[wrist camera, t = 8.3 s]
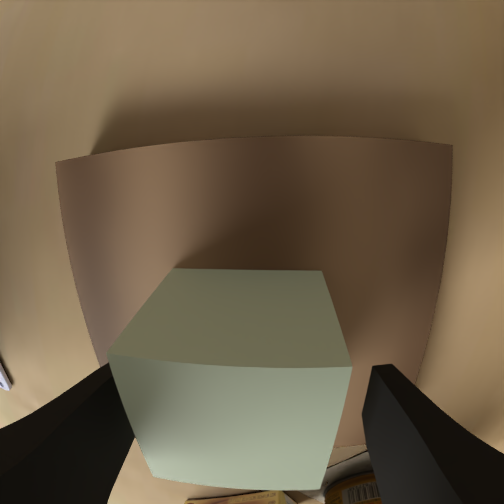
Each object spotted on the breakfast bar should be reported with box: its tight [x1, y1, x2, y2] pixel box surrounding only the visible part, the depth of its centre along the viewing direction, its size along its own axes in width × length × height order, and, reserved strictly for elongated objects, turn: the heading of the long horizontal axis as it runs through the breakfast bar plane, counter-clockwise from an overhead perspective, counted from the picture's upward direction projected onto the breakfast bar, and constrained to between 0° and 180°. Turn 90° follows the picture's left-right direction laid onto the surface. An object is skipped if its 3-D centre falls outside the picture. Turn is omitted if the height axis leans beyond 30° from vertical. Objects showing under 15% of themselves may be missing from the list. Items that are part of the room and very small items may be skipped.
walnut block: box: [55, 136, 452, 448], centre depth 13 cm, size 14×14×3 cm
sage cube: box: [106, 268, 353, 490], centre depth 9 cm, size 5×5×5 cm
